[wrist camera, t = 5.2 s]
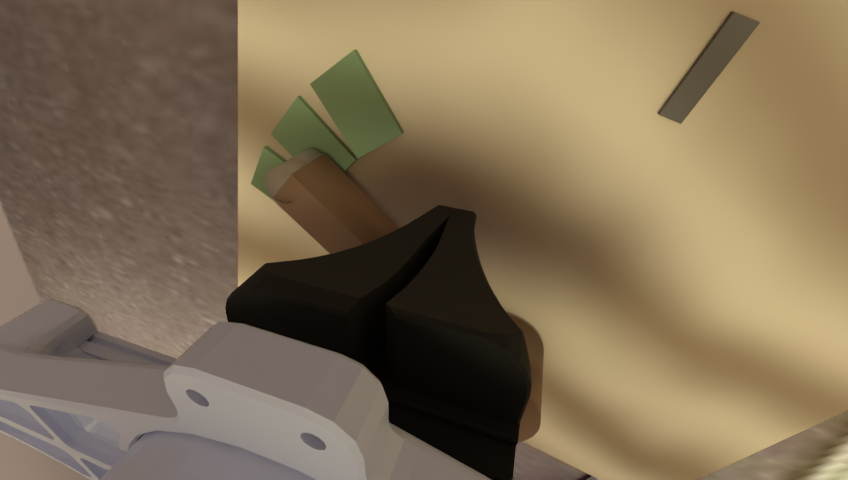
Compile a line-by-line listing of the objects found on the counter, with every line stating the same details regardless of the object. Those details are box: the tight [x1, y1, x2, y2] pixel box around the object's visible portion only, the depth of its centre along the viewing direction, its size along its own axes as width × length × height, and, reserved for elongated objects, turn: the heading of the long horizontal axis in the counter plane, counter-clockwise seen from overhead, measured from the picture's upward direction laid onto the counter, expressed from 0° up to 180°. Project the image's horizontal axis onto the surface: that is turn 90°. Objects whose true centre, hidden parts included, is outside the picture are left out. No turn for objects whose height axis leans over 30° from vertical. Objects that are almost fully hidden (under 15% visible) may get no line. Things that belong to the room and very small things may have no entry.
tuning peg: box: [265, 149, 544, 442], centre depth 13 cm, size 13×4×3 cm, turn 46°
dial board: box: [238, 0, 848, 480], centre depth 13 cm, size 22×24×1 cm
